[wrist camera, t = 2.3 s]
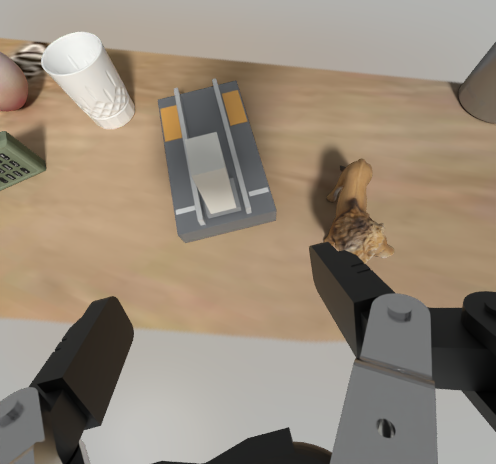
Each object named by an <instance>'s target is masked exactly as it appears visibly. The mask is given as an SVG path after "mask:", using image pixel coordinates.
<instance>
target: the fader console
mask: <svg viewBox="0 0 496 464" xmlns="http://www.w3.org/2000/svg"><path fill="white" fill-rule="evenodd" d="M212 82H213V86H212V87H208V88H204V89H200V90H196V91H192V92H188V93H184V94H180V92H179V90H178V88H175V89H174V94H175V96H171V97H167V98H163V99H159V100H158V106H159V112H160V119H161V126H162V132H163V139H164V146H165V153H166V159H167V166H168V173H169V179H170V186H171V193H172V200H173V206H174V213H175V220H176V226H177V233H178V236H179V237H180V238H181V239H182V240H183V241H184V242H185V243H188V242H192V241H196V240H200V239H204V238H208V237H212V236H216V235H220V234H224V233H228V232H232V231H236V230H240V229H244V228H248V227H252V226H256V225H260V224H264V223H268V222H272V221H276V208H275V204H274V201H273V198H272V195H271V191H270V188H269V185H268V182H267V178H266V175H265V172H264V169H263V165H262V162H261V159H260V156H259V152H258V149H257V146H256V143H255V139H254V136H253V133H252V130H251V127H250V123H249V120H248V117H247V114H246V110H245V107H244V104H243V101H242V97H241V94H240V91H239V88H238V84H237V81H232V82H228V83H224V84H220V85H218V84H217V80H216V79H212ZM214 132H217V135H218V139H219V143H220V146H221V150H222V154H223V158H224V161H225V165H226V169H227V172H228V176H229V179H230V178H233V179H234V183H235V187H236V190H237V194H238V198H239V202H240V206H241V211H237V212H233V213H229V214H225V215H221V216H217V217H213V218H208V216H207V214H206V209H205V204H204V200H203V198H202V196H201V194H200V192H199V190H198V188H197V186H196V184H195V182H194V180H193V178H192V176H191V171H190V166H189V161H188V155H187V150H186V144H185V139H189V138H193V137H197V136H201V135H205V134H210V133H214Z"/></svg>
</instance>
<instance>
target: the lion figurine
mask: <svg viewBox="0 0 496 464" xmlns="http://www.w3.org/2000/svg"><path fill="white" fill-rule="evenodd" d="M340 170H341V171H342V174H341V176H340V178H339V180H338V183H337V185H336V186H335V188H334V189H333V191H332V192H331V193H330V194H329V195H328V196H327V200H328V201H330V202H334V201H335V200H336V198H337V194H338V192H339V191H340V190H341V188H342V187H343V189H342V191H341V194H340V196H339V199H338V203H337V207H336V218H335V219H334V221H333V223H332V227H331V228H330V231H329V234H328V236H327V237H326V238H325V240H324V242H329V243H330V244H331V245H332V246H333V245H334V243H335V247H336V248H337V249H339V250H340V251H342V250H346V251H348V252H351V253H353V254H355V255H357V256H358V257H359V258H360V259H361V260H362V261H363V262H364V263H365V264H366V263H367V261H368V260H369V259H371V257H372V256H375V257H381V258H386V257H388V256H390V255H392V254H393V253H394V248H393V247H391V246H389V245H388V244H387V240H386V237H385V236H384V235H383V233H384V232H383V231H384V229H385V228H384V224H383V223H381V224H378V223H376V222H374V221H372V219H371V218H370V217H369V214H368V213H366V207H367V197H366V186H367V185H368V184H369V182H370V180H371V178H372V167H371V165H370V164H368V163H366V161H365V160H364V159H359V160H358V161H356V162H353V163H351V164H349V165H348V166H347V167H344V166H340Z"/></svg>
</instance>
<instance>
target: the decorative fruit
mask: <svg viewBox="0 0 496 464" xmlns="http://www.w3.org/2000/svg"><path fill="white" fill-rule="evenodd" d="M27 96H28V83H27V80H26V77H25V75H24V73H23V72H22V70H21V69H20V68H19V66H18V65H17V64H16V63H15V62H14V61H12V60H11V59H10V58H9V57H7V56H6V55H4V54H3V53H1V52H0V111H13V110H17V109H19V108H21V107H22V106H23V105H24V104H25V102H26V100H27Z"/></svg>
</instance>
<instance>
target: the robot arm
mask: <svg viewBox="0 0 496 464" xmlns="http://www.w3.org/2000/svg"><path fill="white" fill-rule="evenodd" d="M459 100H460V102H461V104H462V106H463V107H464V108H465V109H466V110H467V111H468V112H469V113H470V114H471V115H473V116H475V117H477V118H478V119H481V120H483V121H486V122H490V123H496V42H495V43H494V45H493V46H492V47H491V49H490V50H489V51H488V52H487V54H486V55H485V56H484V57H483V59H482V60H481V61H480V62H479V64H478V65H477V66H476V67H475V69H474V70H473V71H472V72H471V74H470V75H469V76H468V78H467V79H466V80H465V81H464V83H463V84H462V85H461V86H460V89H459ZM309 252H310V259H311V266H312V273H313V279H314V283H315V286H316V289H317V291H318V293H319V295H320V297H321V298H322V300H323V302H324V303H325V305H326V307H327V309H328V310H329V312H330V314H331V315H332V317H333V319H334V320H335V322H336V324H337V326H338V327H339V329H340V331H341V332H342V334H343V336H344V338H345V339H346V341H347V343H348V344H349V346H350V348H351V349H352V351H353V353H354V355H355V356H356V359H355V361H354V364H353V368H352V372H351V376H350V381H349V384H348V389H347V393H346V398H345V401H344V406H343V410H342V414H341V418H340V423H339V427H338V431H337V435H336V439H335V444H334V448H333V452H330V451H328V450H326V449H324V448H321V447H319V446H316V445H312V444H308V443H304V442H293V440H292V437H291V433H290V429H289V427H288V428H285V429H281V430H278V431H273V432H270V433H266V434H262V435H258V436H255V437H251V438H247V439H246V440H244V441H242V442H241V443H239V444H237V445H236V446H234V447H232V448H231V449H229V450H227V451H225V452H224V453H222V454H220V455H219V456H217V457H216V458H214V459H212V460H210V461H208V462H206V463H203V464H438V456H437V426H436V398H435V388H437V389H451V390H462V392H463V393H464V394H465V395H466V396H467V398H468V399H469V400H470V401H471V402H472V404H473V405H474V406H475V407H476V408H477V410H478V411H479V412H480V413H481V415H482V416H483V417H484V418H485V419H486V421H487V422H488V423H489V424H490V425H491V427H492V428H493V429H494V430H495V432H496V292H487V291H484V292H475V293H472V294H469V295H468V296H466V297H465V299H464V301H463V307H462V308H428V307H426V306H425V305H424V304H423V303H422V302H421V301H419V300H417V299H416V298H413V297H411V296H408V295H404V294H396V293H395V292H394V291H393V290H392V289H391V288H390V287H389V286H388V285H387V284H386V283H384V282H383V281H382V280H381V279H380V278H379V277H378V276H377V275H376V274H375V273H374V272H373V271H372V270H370V268H369V267H368V266H367V265H366V264H364V262H363V261H362V260H361V259H360V258H359V257H358V256H357V255H355V254H353V253H351V252H348V251H346V250H342V251H337V250H336V249H335V248H334V247H333V246H332V245H331V244H330V243H329V242H323V243H320V244H316V245H312V246H310V247H309ZM133 337H134V330H133V326H132V324H131V322H130V320H129V318H128V316H127V315H126V313H125V311H124V309H123V307H122V306H121V304H120V302H119V300H118V299H117V298H116V297H114V296H112V297H108V298H104V299H100V300H96V301H93V302H92V303H91V304H90V306H89V307H88V309H87V310H86V312H85V313H84V315H83V316H82V317H81V318H80V319H79V320H78V321H77V322H76V323H75V324H74V325H73V326H72V327H70V329H69V330H68V332H67V333H66V334H65V336H64V337H63V339H62V342H60V343H59V344H58V346H57V347H56V349H55V352H53V353H52V354H51V356H50V357H49V359H48V360H47V361H46V363H45V364H44V366H43V367H42V369H41V370H40V372H39V373H38V374H37V376H36V377H35V379H34V380H33V381H32V383H31V384H30V386H29V387H28V388H24V389H21V390H18V391H16V392H14V393H13V394H11V395H9V396H8V397H6V398H5V399H3V400H2V401H1V402H0V464H90V461H89V457H88V453H87V450H86V447H85V444H84V442H83V441H82V440H81V439H80V438H81V435H82V433H83V431H84V430H86V429H90V428H93V427H97V426H101V424H102V421H103V418H104V416H105V413H106V410H107V408H108V405H109V402H110V400H111V397H112V395H113V392H114V389H115V387H116V384H117V381H118V379H119V376H120V373H121V370H122V368H123V365H124V362H125V360H126V357H127V355H128V352H129V349H130V347H131V344H132V341H133ZM153 464H196V463H182V462H169V461H160V462H156V463H153Z"/></svg>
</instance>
